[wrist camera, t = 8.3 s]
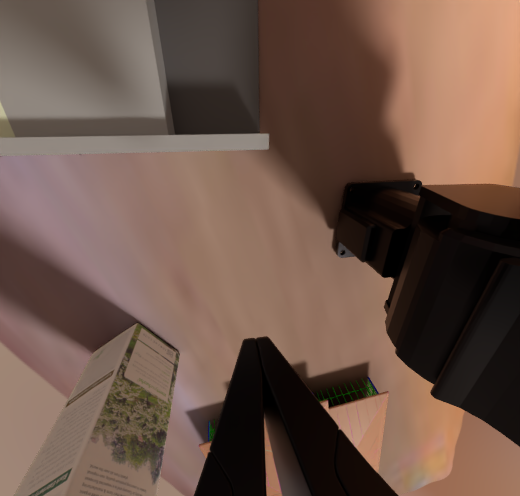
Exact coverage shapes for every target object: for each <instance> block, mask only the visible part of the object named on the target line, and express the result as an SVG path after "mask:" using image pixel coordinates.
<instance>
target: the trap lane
mask: <svg viewBox="0 0 520 496" xmlns="http://www.w3.org/2000/svg"><path fill="white" fill-rule="evenodd" d="M265 149H269V134H263V133H260V129H259V45H258V0H0V156H21V155H61V154H102V153H143V152H184V151H225V150H265Z"/></svg>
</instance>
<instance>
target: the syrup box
mask: <svg viewBox="0 0 520 496" xmlns="http://www.w3.org/2000/svg"><path fill="white" fill-rule="evenodd" d="M179 356H180V353H179V352H177V351H176V350H175V349H173V348H172V347H170V346H169V345H168V344H166V343H165V342H164V341H162V340H161V339H159V338H158V337H157V336H155V335H154V334H153V333H151V332H150V331H149V330H147V329H146V328H145V327H143V326H142V325H140V324H139V323H136V324H135V325H133V326H132V327H130V328H128V329H127V330H125V331H124V332H122V333H121V334H119V335H118V336H116V337H115V338H114V339H112V340H111V341H109V342H108V343H106V344H105V345H103V346H102V347H100V348H99V349H98V350H96V351H95V352H94V353H93V354H92V356H91V357H90V359H89V361H88V363H87V365H86V367H85V368H84V370H83V372H82V374H81V376H80V378H79V380H78V382H77V384H76V386H75V387H74V389H73V391H72V393H71V395H70V397H69V398H68V400H67V402H66V404H65V406H64V408H63V409H62V411H61V413H60V415H59V417H58V418H57V420H56V422H55V424H54V425H53V427H52V429H51V431H50V433H49V434H48V436H47V438H46V440H45V441H44V443H43V445H42V447H41V448H40V450H39V452H38V454H37V455H36V457H35V459H34V461H33V463H32V464H31V466H30V468H29V469H28V471H27V473H26V475H25V476H24V478H23V480H22V482H21V483H20V485H19V487H18V489H17V491H16V492H15V494H14V496H157V492H158V486H159V480H160V474H161V467H162V461H163V455H164V449H165V442H166V436H167V430H168V424H169V418H170V411H171V405H172V399H173V393H174V387H175V380H176V374H177V368H178V362H179Z"/></svg>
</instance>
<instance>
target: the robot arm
mask: <svg viewBox="0 0 520 496" xmlns="http://www.w3.org/2000/svg"><path fill="white" fill-rule="evenodd" d="M415 184H416V186H415V187H414V185H415ZM352 187H353V191H352V192H350V189H351V188H352ZM413 187H414V188H413ZM336 239H337V244H336V254H337V255H338V257H340V258H344V257H354V256H356V257H357V258H358V259H359V260H360V261H361V262H366V263H367V264H368V265H369V266H371V267H372V268H373V269H374V270H375V271H376V272H377V273H379V274H380V275H381V276H382V277H384V278H387V277H391V278H392V279H394V282H393V285H392V288H391V291H390V294H389V298H388V300H386V302H385V305H384V308H385V311H386V313H387V317H386V320H385V324H386V331H387V334H388V336H389V338H390V339H391V341H392V343H393V344H394V346H395V347H396V350H395V353H396V355H397V356H398V357H399V358H400V359H401V360H402V361H403V362H404V363H405V364H406V365H407V366H408V367H409V368H411V369H412V370H413V371H415V372H416V373H417V374H419V375H420V376H421V377H423V378H424V379H426V380H427V381H429V382H431V383H433V384H434V386H433V388H432V390H431V392H430V393H431V395H432V396H433V397H434V398H436V399H438V400H441V401H443V402H446V403H449V404H451V405H454V406H457V407H459V408H461V409H463V410H465V411H467V412H469V413H470V414H472V415H474V416H476V417H478V418H480V419H481V420H483V421H485V422H486V423H488V424H489V425H491V426H492V427H493V428H495V429H496V430H498V431H499V432H501V433H502V434H503V435H505V436H506V437H508V438H509V439H510V440H511V441H513V442H514V443H516V444H517V445H518V446H520V188H517V187H510V186H503V185H496V184H458V185H422V182H421V181H419V180H393V181H372V182H351V183H348V184H347V185H346V187H345V190H344V196H343V203H342V209H341V210H340V212H339V219H338V226H337V233H336ZM342 250H343V252H342V253H340V252H341V251H342ZM264 419H265V423H266V428H267V432H268V436H269V441H270V445H271V449H272V453H273V458H274V462H275V466H276V471H277V475H278V479H279V483H280V488H281V492H282V496H398V495H397V494H396V493H395V492H394V490H393V489H392V488H391V487H390V486H389V485H388V484H387V483H386V482H385V481H384V480H383V478H382V477H381V476H380V475H379V474H378V473H377V472H376V471H375V470H374V468H373V467H372V466H371V465H370V464H369V463H368V462H367V460H366V459H365V458H364V457H363V456H362V454H361V453H360V452H359V451H358V450H357V448H356V447H355V446H354V445H353V444H352V442H351V441H350V440H349V438H348V437H347V436H346V435H345V433H344V432H343V431H342V430H341V429H339V426H338V425H337V423H336V422H335V421H334V420H333V418H332V417H331V416H330V415H329V413H328V412H327V411H326V409H325V408H324V407H323V406H322V404H321V403H320V402H319V401H318V399H317V398H316V397H315V396H314V394H313V393H312V392H311V390H310V389H309V388H308V387H307V385H306V384H305V383H304V382H303V380H302V379H301V378H300V377H299V375H298V374H297V373H296V371H295V370H294V369H293V368H292V366H291V365H290V364H289V363H288V361H287V360H286V359H285V358H284V356H283V355H282V354H281V352H280V351H279V350H278V349H277V347H276V346H275V345H274V344H273V342H272V341H271V340H270V339H269V337H258V338H256V339H255V338H248V339H244V340H243V343H242V346H241V349H240V352H239V356H238V359H237V362H236V365H235V368H234V372H233V375H232V378H231V381H230V384H229V388H228V391H227V394H226V397H225V400H224V404H223V407H222V410H221V413H220V416H219V420H218V423H217V426H216V429H215V433H214V436H213V439H212V442H211V445H210V449H209V450H210V452H208V454H207V458H206V461H205V464H204V467H203V470H202V473H201V476H200V479H199V482H198V485H197V488H196V491H195V494H194V496H267V491H266V461H265V430H264Z"/></svg>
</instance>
